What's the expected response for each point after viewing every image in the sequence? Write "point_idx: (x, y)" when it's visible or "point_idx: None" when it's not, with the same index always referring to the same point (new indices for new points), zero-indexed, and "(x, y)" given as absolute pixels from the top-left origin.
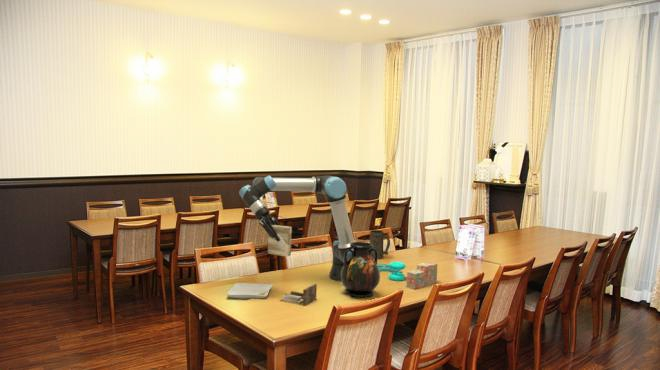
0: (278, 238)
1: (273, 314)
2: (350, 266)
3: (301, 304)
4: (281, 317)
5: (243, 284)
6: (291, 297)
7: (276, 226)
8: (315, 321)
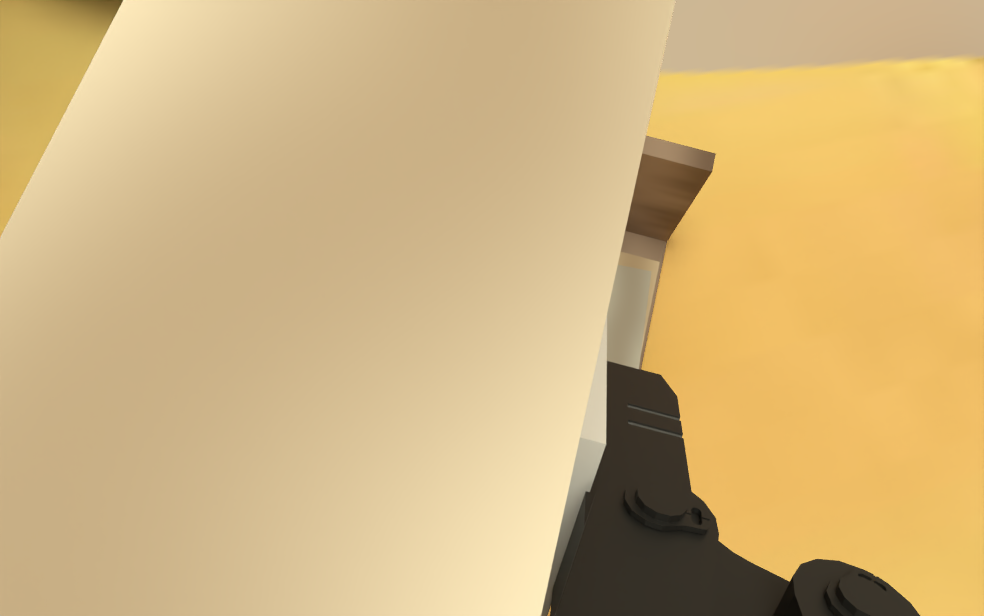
0: (651, 408)
1: (926, 438)
2: None
3: (647, 257)
4: (958, 353)
5: None
6: (639, 340)
7: (526, 524)
8: (914, 103)
